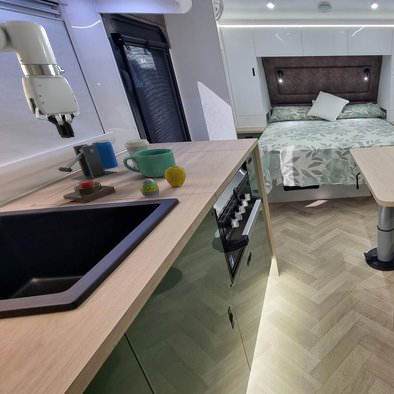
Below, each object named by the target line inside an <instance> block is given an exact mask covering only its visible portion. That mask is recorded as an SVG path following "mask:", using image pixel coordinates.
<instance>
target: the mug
mask: <svg viewBox="0 0 394 394" xmlns="http://www.w3.org/2000/svg"><path fill="white" fill-rule="evenodd" d="M134 156H135V157H132V156H130V155H128V156H126V157H124V158H123V161H122V163H123V165H124V167H125V168H126V169H127V170H129V171H131V172H133V173H137V174H141V175H142V176H145V177H148V178H150V179H159V178H165V171H166V169H167V168H169V167H172V166H177V165H176V164H177V163H176V159H175V155H174V151H173V150H172V149H171V148H151V149H149V150H145V151H140V152H137V153H135V154H134ZM129 160H131V161H132V160H134V161H135V162H136V163H137V167H138V168H135V167H132V166H130V165H129V163H128V161H129Z"/></svg>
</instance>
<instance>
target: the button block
mask: <svg viewBox="0 0 394 394" xmlns="http://www.w3.org/2000/svg"><path fill="white" fill-rule="evenodd" d="M94 184H95V185H94V186H91V187H86V188H80V186H79V184H77V185H76V186H74V187H73V190H74V191H72V192H69V193H66V194H63V195H62V196H63V199H64V200H70V201H68V203H74V204H75V203H76V204H84V205H85V204H88V203H90V202H93V201H96V200H98V199H101V198H104V197H108V196H110V195H112V194H115V193H116V192H117V191H116V189H115V186H112V185H103V184H102V183H101V182H99V181H94Z"/></svg>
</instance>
